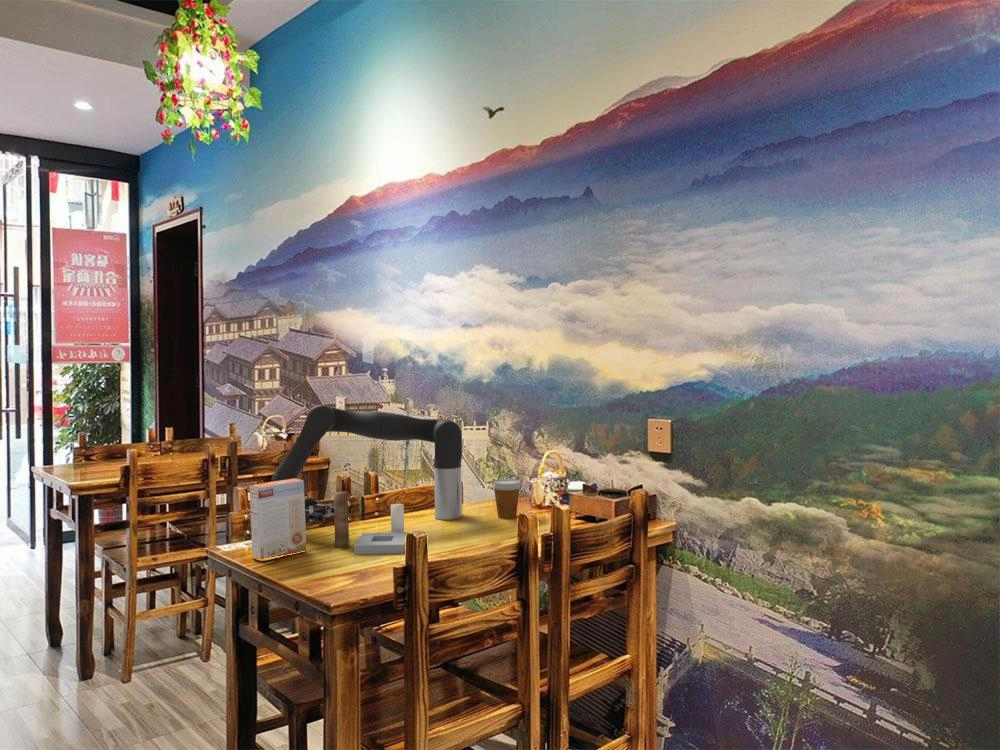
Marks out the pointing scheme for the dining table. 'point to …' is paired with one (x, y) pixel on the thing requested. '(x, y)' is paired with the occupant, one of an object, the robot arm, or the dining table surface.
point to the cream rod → (397, 518)
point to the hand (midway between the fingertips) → (333, 515)
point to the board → (380, 543)
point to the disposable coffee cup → (506, 497)
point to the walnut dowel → (341, 519)
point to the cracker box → (277, 518)
